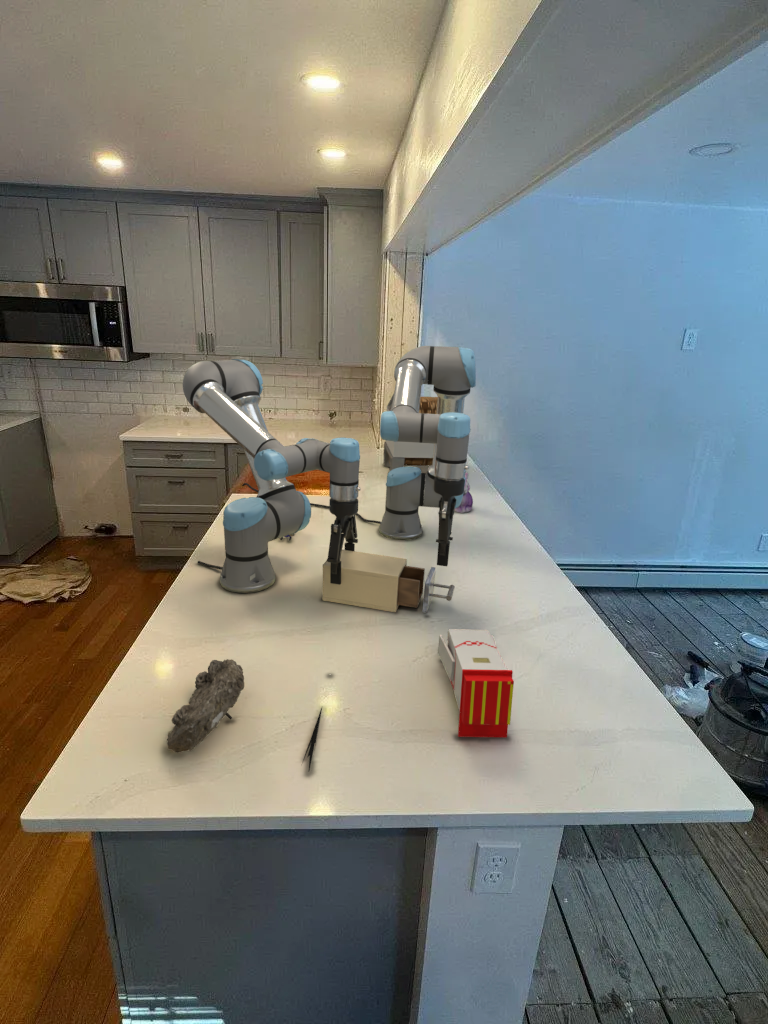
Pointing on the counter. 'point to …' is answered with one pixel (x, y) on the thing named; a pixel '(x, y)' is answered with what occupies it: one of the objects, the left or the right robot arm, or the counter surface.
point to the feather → (313, 740)
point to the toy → (478, 682)
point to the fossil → (206, 705)
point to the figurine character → (288, 536)
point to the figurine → (465, 498)
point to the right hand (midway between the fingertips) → (442, 564)
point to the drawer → (419, 587)
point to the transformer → (411, 443)
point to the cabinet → (365, 580)
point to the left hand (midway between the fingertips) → (342, 573)
